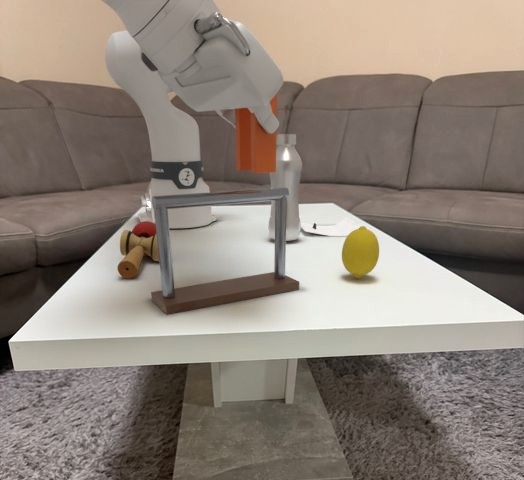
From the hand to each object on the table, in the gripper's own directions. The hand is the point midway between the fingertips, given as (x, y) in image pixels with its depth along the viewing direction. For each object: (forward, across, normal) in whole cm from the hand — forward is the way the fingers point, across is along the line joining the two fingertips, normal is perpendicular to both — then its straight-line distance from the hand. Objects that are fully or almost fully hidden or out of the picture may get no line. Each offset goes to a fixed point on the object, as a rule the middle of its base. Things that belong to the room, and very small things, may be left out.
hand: (259, 129), depth 58 cm
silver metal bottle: (+28, +24, +1) cm, 37 cm away
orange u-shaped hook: (+3, 0, +4) cm, 5 cm away
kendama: (+7, +21, +23) cm, 32 cm away
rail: (+11, -1, +19) cm, 22 cm away
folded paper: (+38, +28, -9) cm, 49 cm away
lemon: (+26, -4, +4) cm, 26 cm away
